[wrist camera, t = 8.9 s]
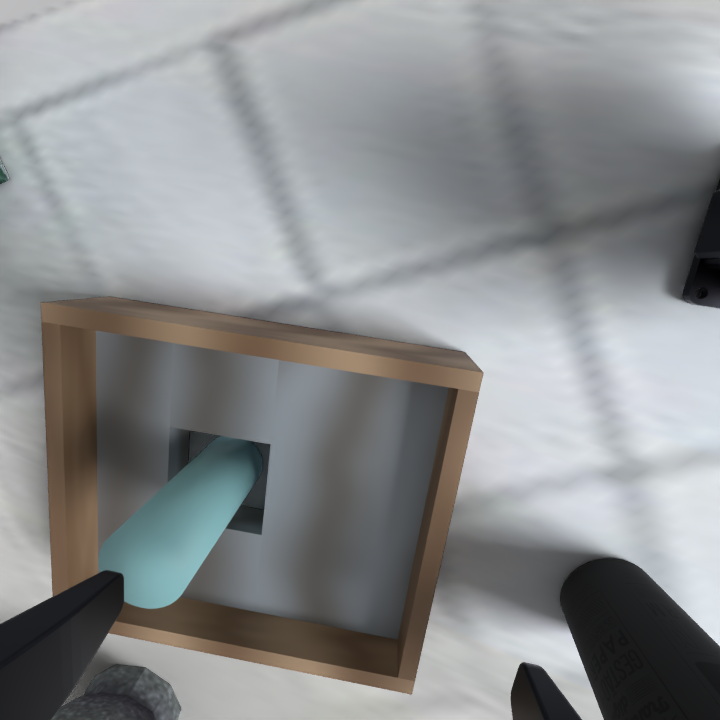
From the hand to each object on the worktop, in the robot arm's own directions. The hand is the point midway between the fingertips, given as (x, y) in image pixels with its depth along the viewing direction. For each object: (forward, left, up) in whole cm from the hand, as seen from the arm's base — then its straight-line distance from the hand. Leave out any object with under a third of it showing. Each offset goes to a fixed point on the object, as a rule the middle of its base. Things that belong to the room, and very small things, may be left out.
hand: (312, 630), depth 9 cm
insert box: (+4, +3, -12) cm, 13 cm away
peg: (+6, +3, -12) cm, 14 cm away
